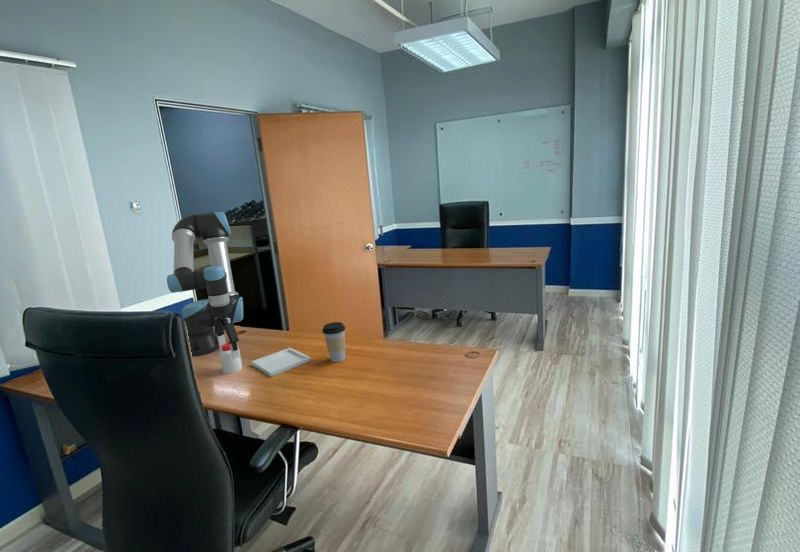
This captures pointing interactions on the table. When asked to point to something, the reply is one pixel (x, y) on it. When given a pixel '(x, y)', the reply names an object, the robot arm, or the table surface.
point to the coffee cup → (335, 340)
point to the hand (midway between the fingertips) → (229, 354)
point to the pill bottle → (229, 360)
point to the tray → (280, 361)
